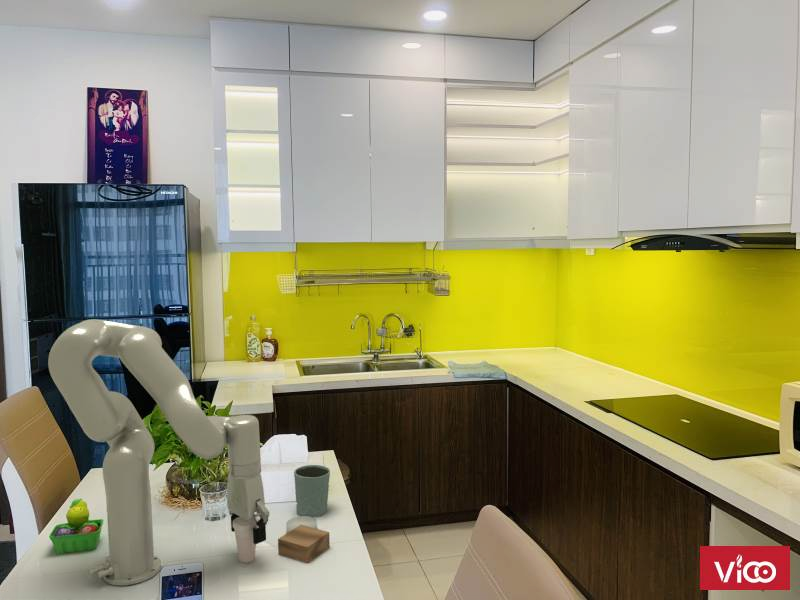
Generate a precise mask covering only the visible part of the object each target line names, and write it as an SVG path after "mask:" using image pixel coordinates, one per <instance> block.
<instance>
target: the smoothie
mask: <svg viewBox="0 0 800 600" xmlns="http://www.w3.org/2000/svg"><path fill="white" fill-rule="evenodd" d="M259 519H260V517H256V520H257V522H258V521H259ZM232 526H233V528H234V530H235V532H234V536H235V541H236V548H237V553H238V560H239V562H240V563H244V564H245V563H246V564H247V563H250V562H253V561H254V560H255V558H256V550H257V544H254V542H253V528H254V525H253V522H252V520H251V519H249V520H246V519H244V518H242V517H237V518H236V519H234V520H233V525H232Z"/></svg>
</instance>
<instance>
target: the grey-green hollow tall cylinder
mask: <svg viewBox="0 0 800 600" xmlns="http://www.w3.org/2000/svg"><path fill="white" fill-rule="evenodd" d="M293 476H294V485H295V486H294V489H295V502H296V514H297V515H298V516H299V515H300V516H309V517H313V518H318V517H322V516H323V515H325V514H326V513H327V511H328V502H329V501H328V500H329V490H330V489H329V487H330V484H329V483H330V478H331V477H330V476H331V469H330V468H329V467H327V466H324V465H320V464H319V465H318V464H308V465H303V466H299V467H297V468H296V469H294V470H293Z"/></svg>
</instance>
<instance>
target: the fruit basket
mask: <svg viewBox="0 0 800 600" xmlns="http://www.w3.org/2000/svg"><path fill="white" fill-rule="evenodd" d="M65 517H66V520H67V523H66V522H65V523H60V524H59V523H58V524H57V525H55V526H54V528H53V529H52V531H51V532H50V534H49V539H50V541H51V543H52V545H53V548H54V550H55V553H56V555H59V554H64V553H75V552H81V551H87V550H88V551H89V550H96V549H97V546H98V543H99V542H100V538H101V533H102V527H103V524H104V519H102V518H100V519H89V518H90V511H89V509H88V503H87V502H86V501H85V500H83V498H78V499H77V498H75V499H74V500H73V501H72V502H71V504H70V505H69V509H68V510H67V511H66V514H65Z"/></svg>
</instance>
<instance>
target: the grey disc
mask: <svg viewBox="0 0 800 600" xmlns="http://www.w3.org/2000/svg"><path fill="white" fill-rule="evenodd" d="M299 525H304V526H308V527H312V528H315V529H318V528H317V527H318V522H317V519H316V517H314V518H313V517H309V516H299V515H298V516H294V517H292V518H290V519H288V520H287V521H286V523H285V526H286V527H285V528H286V530H285V532H286V533H285V534H287V533H288V532H290V531H291V530H293V529H295V528H296V527H298V526H299Z"/></svg>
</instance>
